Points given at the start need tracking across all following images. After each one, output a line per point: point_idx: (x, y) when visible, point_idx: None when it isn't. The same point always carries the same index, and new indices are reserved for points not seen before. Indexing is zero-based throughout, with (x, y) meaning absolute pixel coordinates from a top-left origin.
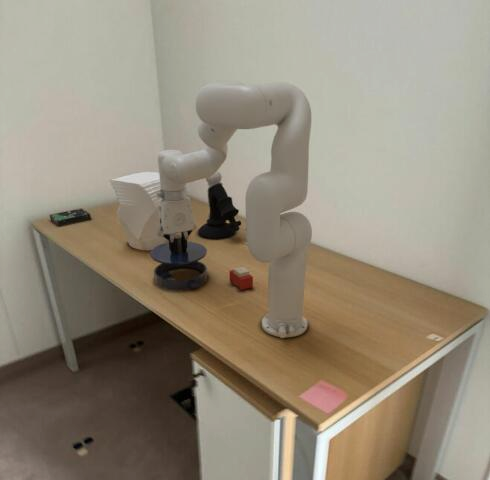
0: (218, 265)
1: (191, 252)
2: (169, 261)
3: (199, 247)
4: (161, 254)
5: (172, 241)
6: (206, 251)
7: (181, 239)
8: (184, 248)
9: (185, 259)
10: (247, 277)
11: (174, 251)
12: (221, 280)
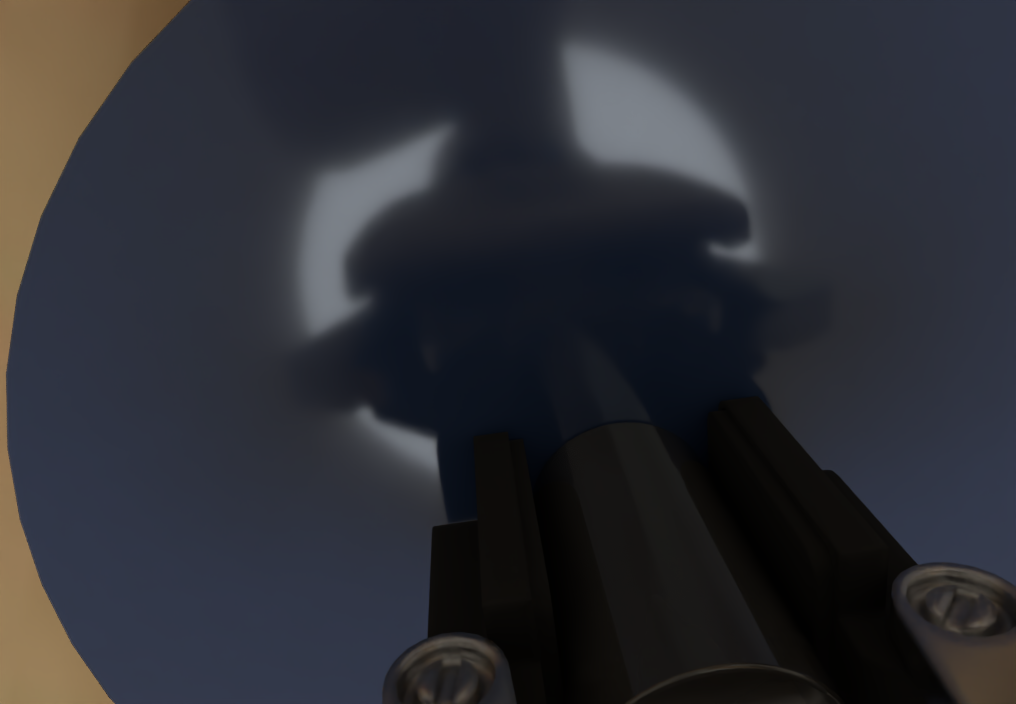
0: (11, 497)
1: (381, 364)
2: (1012, 57)
3: (150, 549)
4: (976, 480)
5: (920, 595)
6: (22, 296)
7: (613, 650)
8: (524, 469)
9: (636, 11)
10: None
11: (776, 419)
12: (40, 56)
